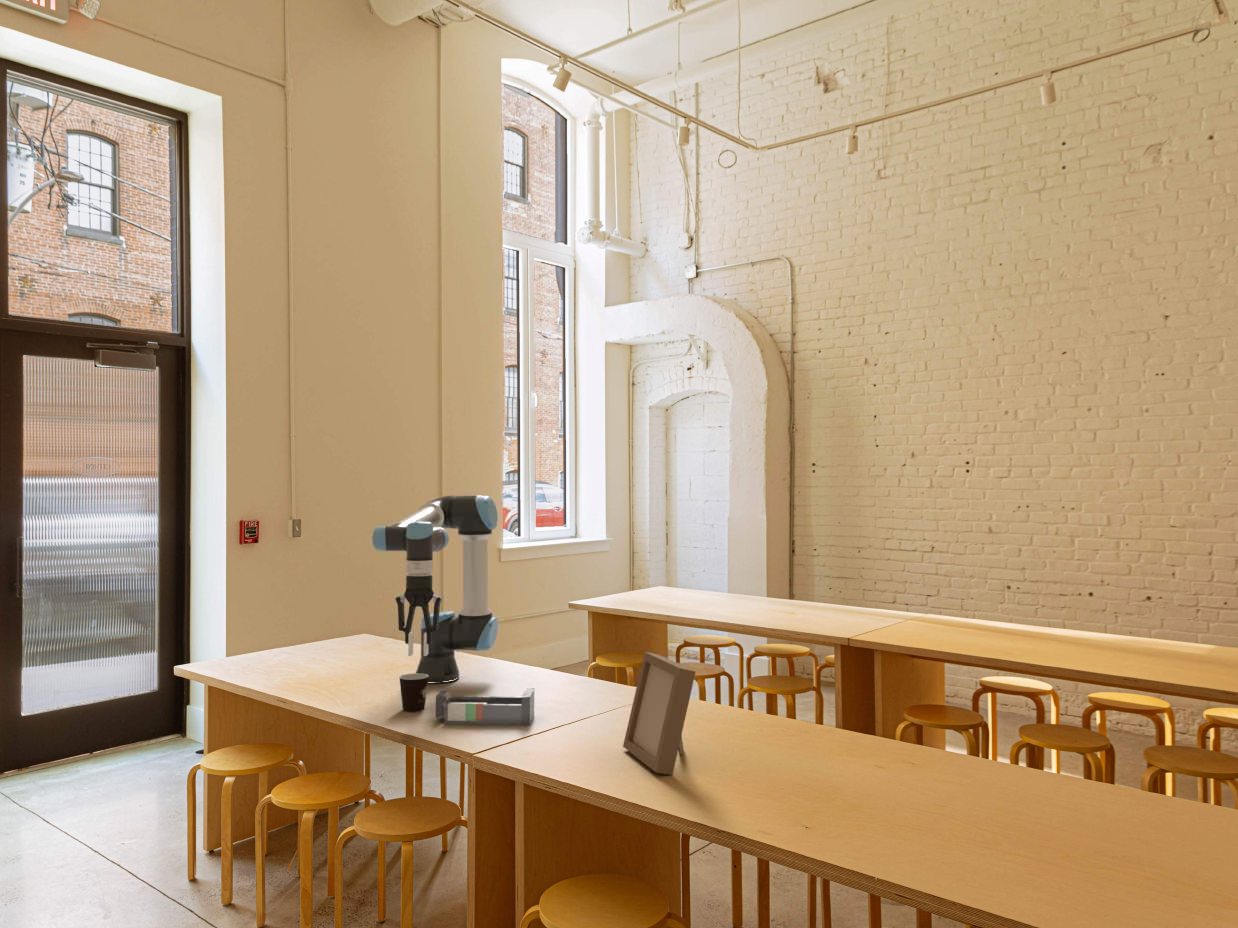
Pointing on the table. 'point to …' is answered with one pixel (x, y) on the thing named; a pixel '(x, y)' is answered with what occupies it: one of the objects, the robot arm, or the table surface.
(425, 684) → the coffee mug
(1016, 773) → the table surface
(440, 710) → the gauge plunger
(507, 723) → the gauge housing
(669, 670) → the photo frame
